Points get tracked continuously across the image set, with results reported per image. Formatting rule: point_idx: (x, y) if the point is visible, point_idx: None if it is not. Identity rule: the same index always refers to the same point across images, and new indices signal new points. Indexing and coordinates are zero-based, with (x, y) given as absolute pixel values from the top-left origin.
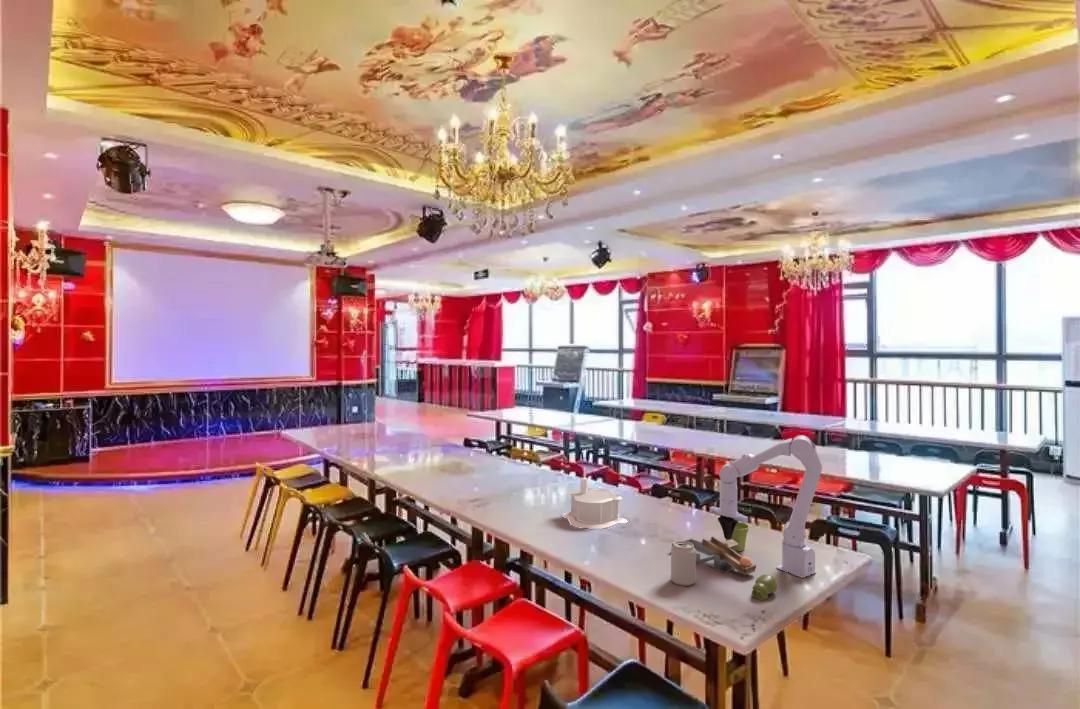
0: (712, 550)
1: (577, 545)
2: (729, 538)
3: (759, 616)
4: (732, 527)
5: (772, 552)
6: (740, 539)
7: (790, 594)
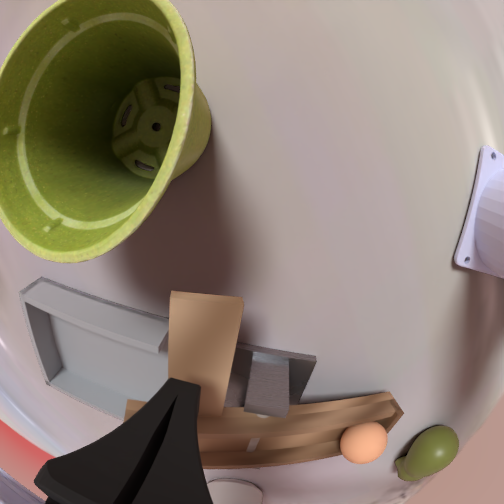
0: (203, 452)
1: (8, 408)
2: (199, 404)
3: (411, 482)
4: (184, 463)
5: (352, 25)
6: (180, 163)
7: (478, 400)
